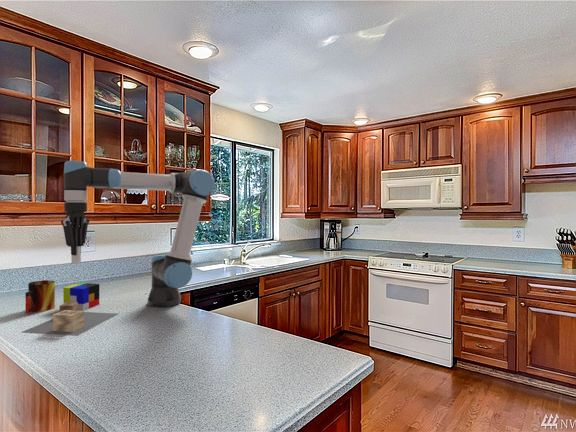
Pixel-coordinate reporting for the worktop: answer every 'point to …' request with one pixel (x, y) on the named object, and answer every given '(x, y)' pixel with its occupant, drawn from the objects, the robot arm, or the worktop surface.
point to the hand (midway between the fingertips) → (76, 263)
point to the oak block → (68, 320)
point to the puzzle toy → (82, 295)
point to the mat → (89, 322)
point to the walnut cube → (69, 306)
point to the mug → (40, 296)
